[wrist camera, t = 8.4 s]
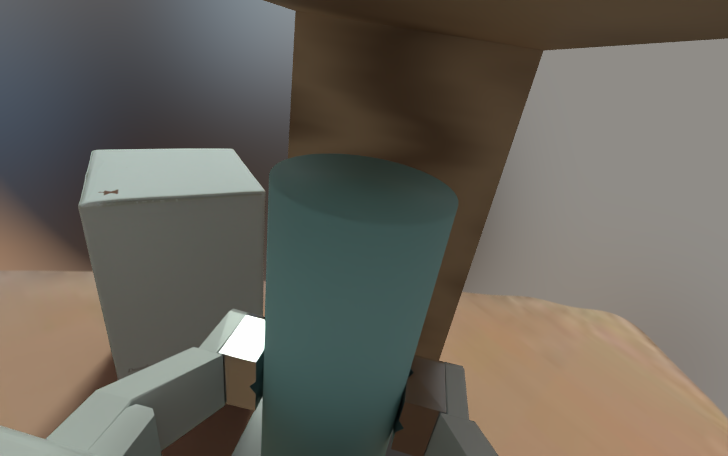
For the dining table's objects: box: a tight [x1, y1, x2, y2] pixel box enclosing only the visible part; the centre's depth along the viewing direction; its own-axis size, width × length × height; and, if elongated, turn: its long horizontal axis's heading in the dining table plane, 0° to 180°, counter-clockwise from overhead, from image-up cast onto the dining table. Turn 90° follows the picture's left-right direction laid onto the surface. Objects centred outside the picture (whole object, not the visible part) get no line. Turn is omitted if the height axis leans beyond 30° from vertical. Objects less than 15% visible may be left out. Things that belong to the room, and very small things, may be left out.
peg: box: [261, 153, 458, 456], centre depth 10 cm, size 4×4×12 cm
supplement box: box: [78, 149, 265, 380], centre depth 20 cm, size 7×7×13 cm
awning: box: [264, 0, 728, 361], centre depth 13 cm, size 9×15×22 cm, turn 169°
